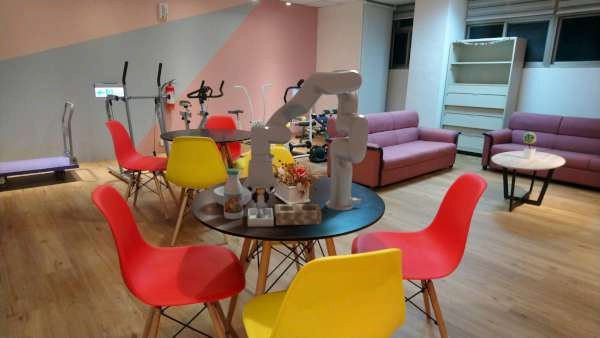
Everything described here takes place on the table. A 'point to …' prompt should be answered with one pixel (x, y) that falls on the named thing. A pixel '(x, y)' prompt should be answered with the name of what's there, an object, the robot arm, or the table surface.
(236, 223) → the table surface
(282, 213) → the socket block
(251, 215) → the tray
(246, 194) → the cereal bowl
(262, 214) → the pin
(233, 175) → the milk bottle
